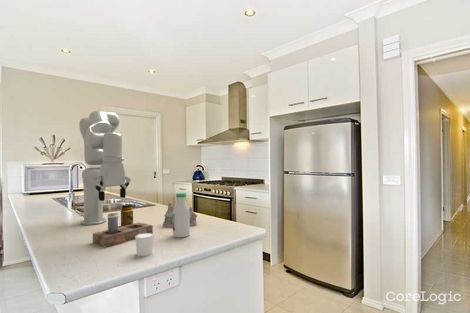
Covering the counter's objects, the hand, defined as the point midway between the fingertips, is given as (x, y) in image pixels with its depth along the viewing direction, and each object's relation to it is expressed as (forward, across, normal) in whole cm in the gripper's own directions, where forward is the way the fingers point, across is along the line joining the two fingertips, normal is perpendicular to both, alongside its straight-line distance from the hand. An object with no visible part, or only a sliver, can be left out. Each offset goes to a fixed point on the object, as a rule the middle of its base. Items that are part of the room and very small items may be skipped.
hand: (112, 198), depth 114 cm
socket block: (+19, -5, 0) cm, 19 cm away
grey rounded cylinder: (+19, 0, 0) cm, 19 cm away
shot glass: (+19, +2, +25) cm, 31 cm away
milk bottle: (+19, -22, +20) cm, 35 cm away
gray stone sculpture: (+19, -36, +5) cm, 41 cm away
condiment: (+19, -16, -16) cm, 30 cm away
